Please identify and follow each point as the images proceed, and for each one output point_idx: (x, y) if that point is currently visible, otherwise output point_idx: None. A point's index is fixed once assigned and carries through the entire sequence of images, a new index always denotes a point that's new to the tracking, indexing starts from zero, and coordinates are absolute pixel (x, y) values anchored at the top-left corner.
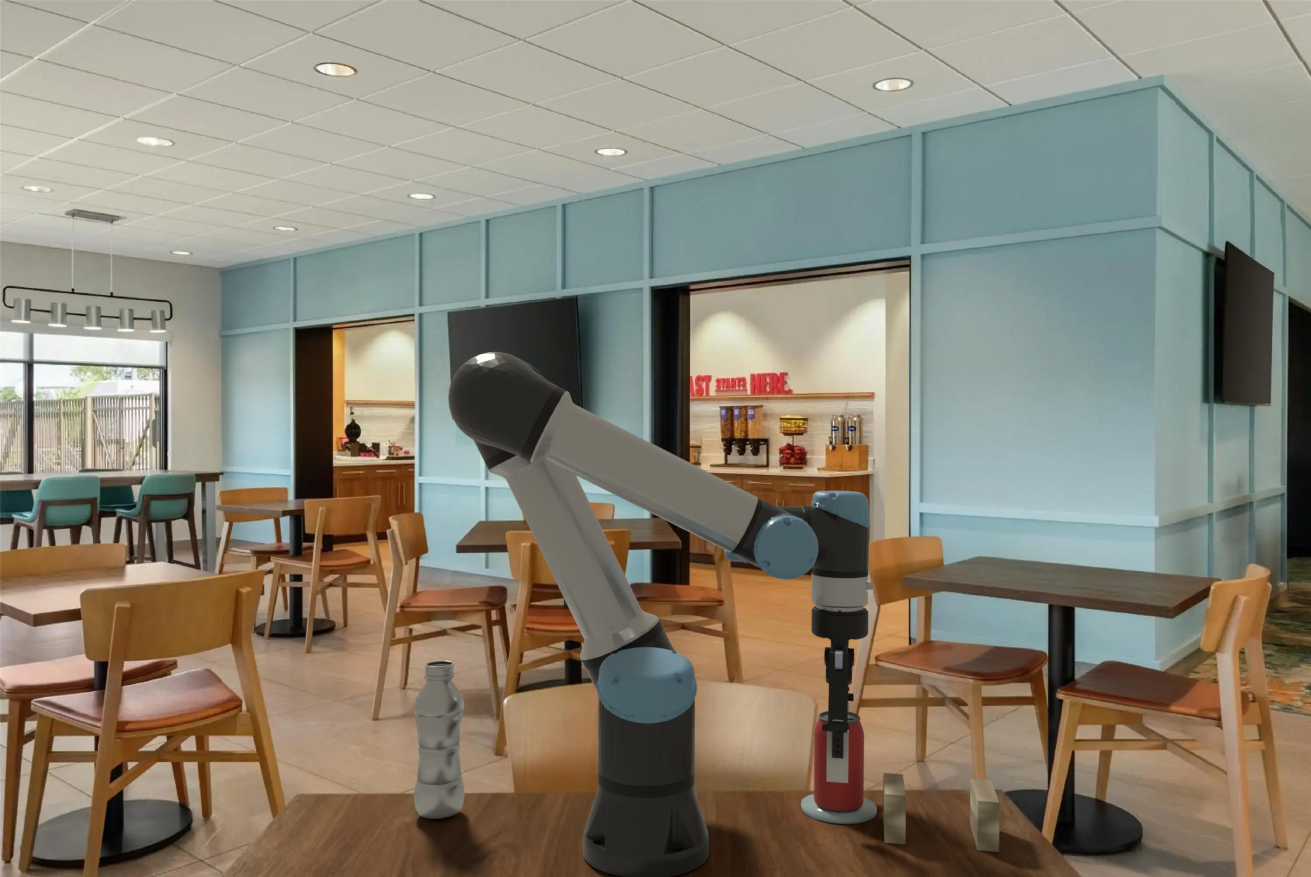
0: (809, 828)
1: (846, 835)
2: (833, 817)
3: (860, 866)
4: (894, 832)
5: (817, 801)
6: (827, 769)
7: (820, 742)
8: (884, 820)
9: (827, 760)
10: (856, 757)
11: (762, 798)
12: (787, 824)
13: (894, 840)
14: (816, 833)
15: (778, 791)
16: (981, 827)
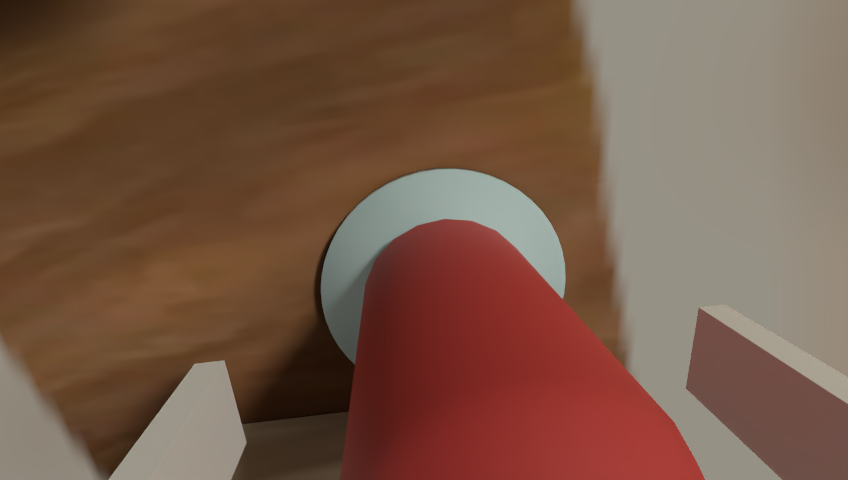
0: (252, 221)
1: (243, 331)
2: (329, 291)
3: (34, 389)
4: None
5: (396, 240)
6: (166, 409)
7: (380, 403)
8: (243, 464)
9: (136, 450)
10: None
11: (489, 5)
12: (257, 144)
13: None
14: (219, 248)
15: (577, 60)
16: None
